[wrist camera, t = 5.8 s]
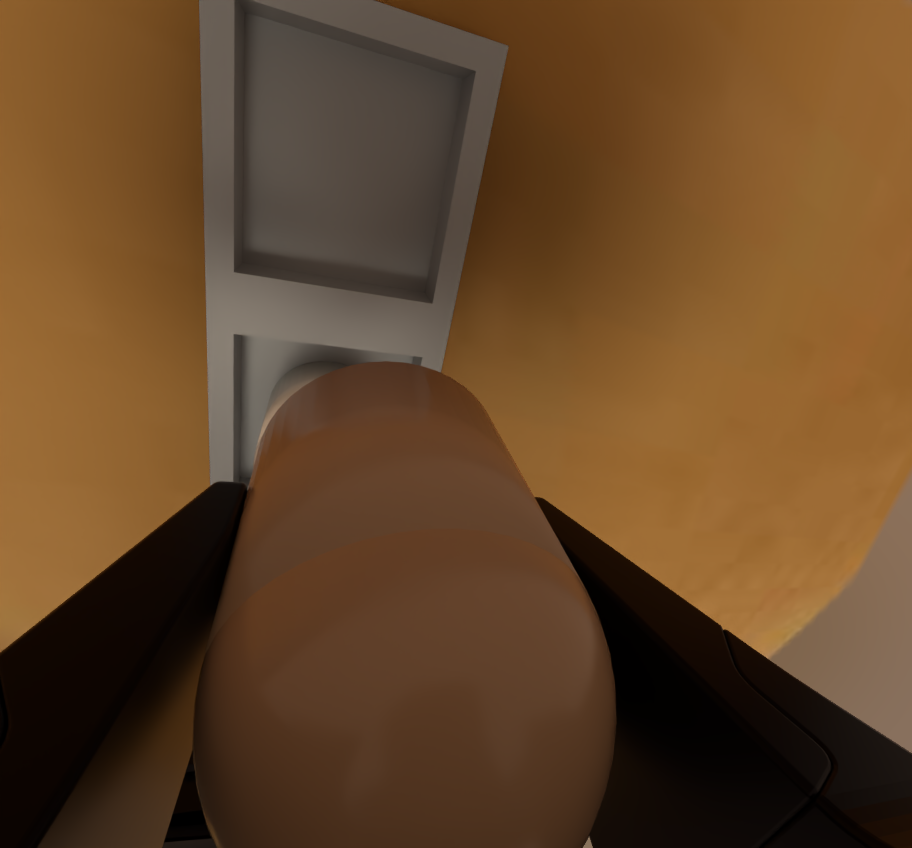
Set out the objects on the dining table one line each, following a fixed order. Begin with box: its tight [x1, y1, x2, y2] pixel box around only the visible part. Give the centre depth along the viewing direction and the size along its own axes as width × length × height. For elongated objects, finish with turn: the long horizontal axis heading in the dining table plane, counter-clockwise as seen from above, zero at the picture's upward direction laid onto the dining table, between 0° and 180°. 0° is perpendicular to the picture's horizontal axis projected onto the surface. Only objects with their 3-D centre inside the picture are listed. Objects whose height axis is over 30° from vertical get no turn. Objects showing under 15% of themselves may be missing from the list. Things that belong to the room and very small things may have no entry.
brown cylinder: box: [192, 361, 617, 848], centre depth 6 cm, size 4×4×6 cm
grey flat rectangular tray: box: [199, 0, 509, 490], centre depth 17 cm, size 17×8×2 cm, turn 168°
